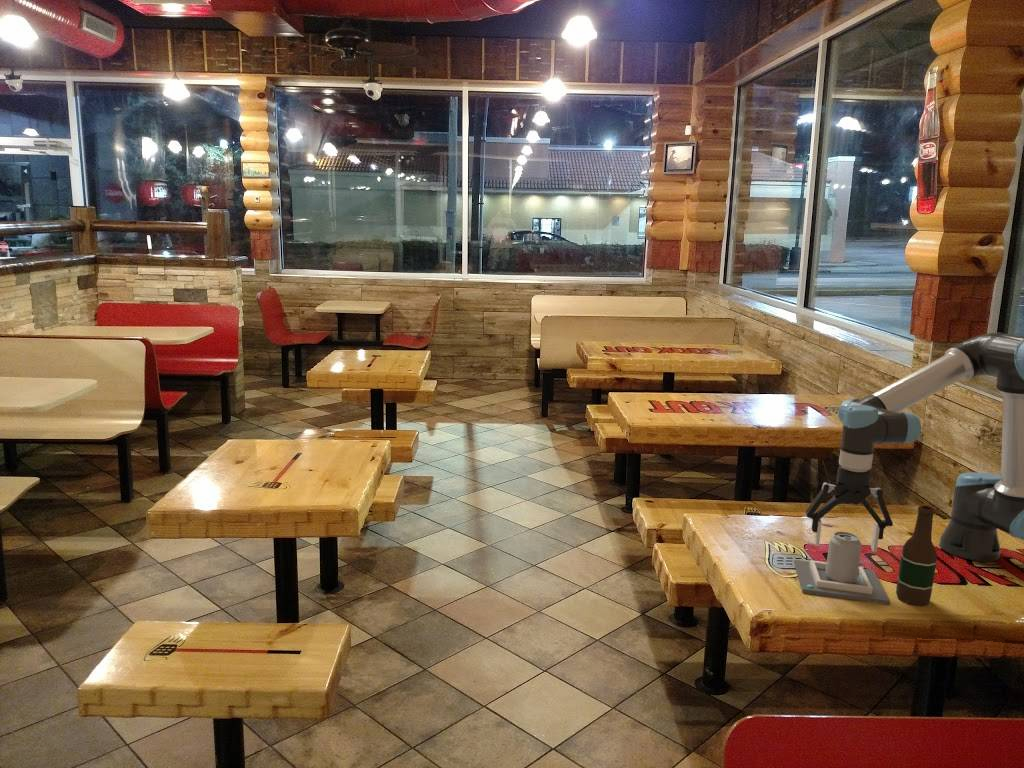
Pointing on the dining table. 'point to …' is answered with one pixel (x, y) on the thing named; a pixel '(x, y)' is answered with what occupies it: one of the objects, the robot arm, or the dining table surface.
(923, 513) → the beer bottle
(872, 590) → the dock
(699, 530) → the dining table surface
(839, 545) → the can
